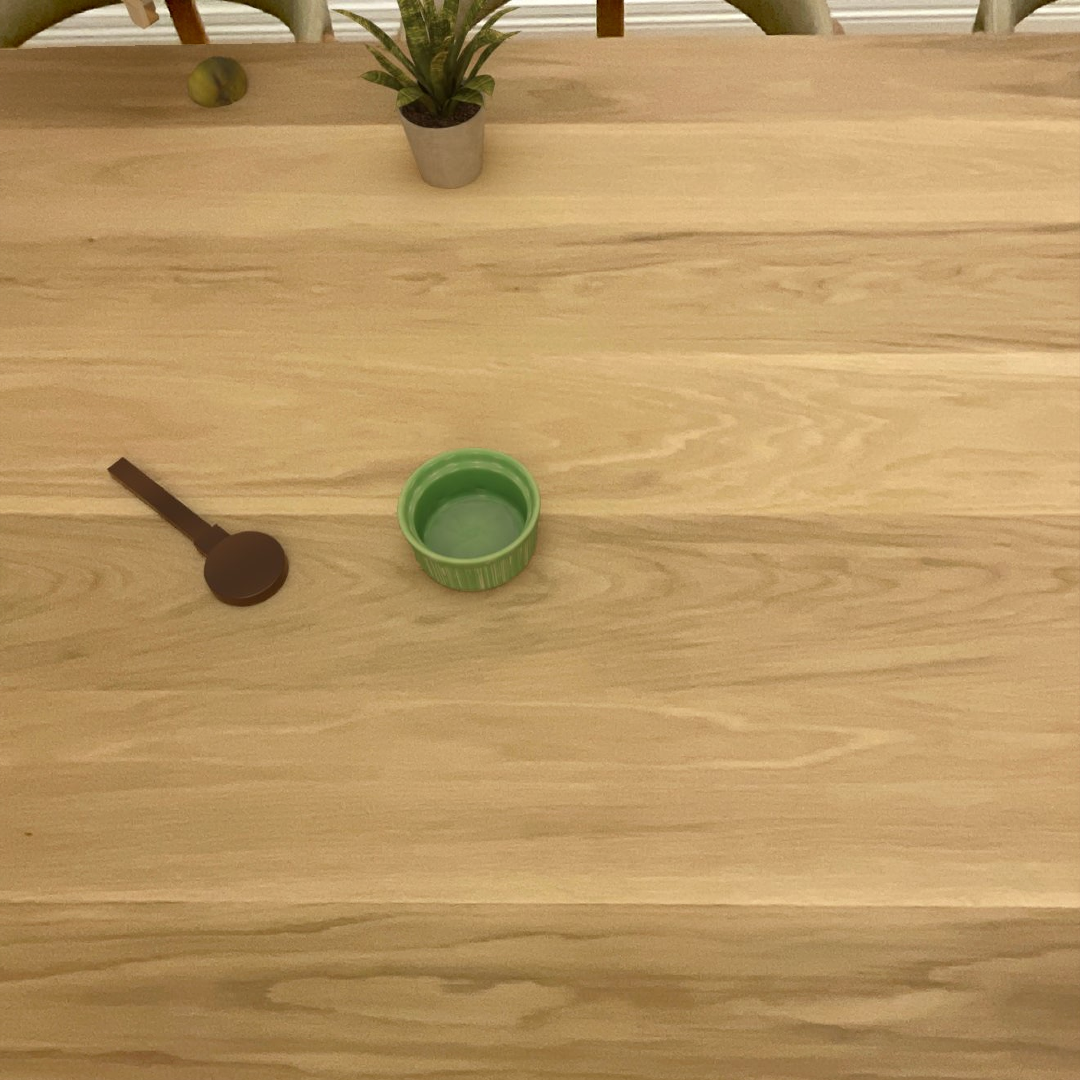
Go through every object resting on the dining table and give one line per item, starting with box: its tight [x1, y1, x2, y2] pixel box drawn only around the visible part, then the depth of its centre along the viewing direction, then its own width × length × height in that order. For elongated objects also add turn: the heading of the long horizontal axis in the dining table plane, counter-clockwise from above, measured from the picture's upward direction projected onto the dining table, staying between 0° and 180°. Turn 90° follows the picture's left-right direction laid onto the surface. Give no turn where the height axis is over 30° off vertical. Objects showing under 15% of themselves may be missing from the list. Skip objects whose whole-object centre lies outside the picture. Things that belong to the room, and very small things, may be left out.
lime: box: [186, 55, 248, 109], centre depth 99 cm, size 4×5×5 cm
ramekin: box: [396, 446, 542, 592], centre depth 74 cm, size 9×9×4 cm
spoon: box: [106, 456, 289, 607], centre depth 77 cm, size 16×5×1 cm, turn 50°
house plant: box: [331, 0, 522, 189], centre depth 89 cm, size 14×14×16 cm
